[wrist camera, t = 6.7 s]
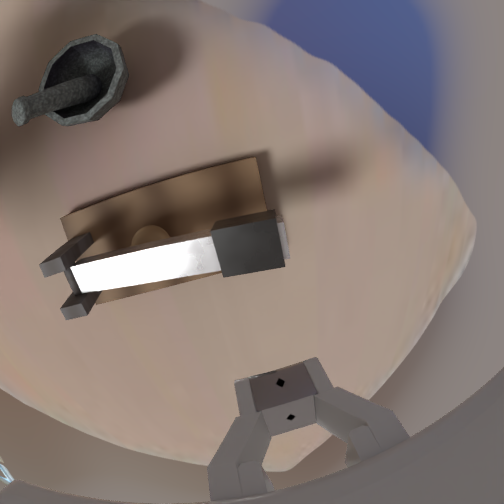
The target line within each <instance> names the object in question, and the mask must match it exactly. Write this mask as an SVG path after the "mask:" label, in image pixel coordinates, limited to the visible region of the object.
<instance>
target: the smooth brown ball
mask: <svg viewBox="0 0 504 504" xmlns="http://www.w3.org/2000/svg"><path fill="white" fill-rule="evenodd" d="M166 238H170V236H169V234H168V233H167V232H166V231H165V230H164V229H162V228H161V227H159V226H155V225H149V226H145V227H143V228H141V229H140V230H138V231H137V232H136V234H135V235H134V237H133V239H132V244H131V246H136V245H140V244H144V243H149V242H153V241H157V240H162V239H166Z"/></svg>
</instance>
